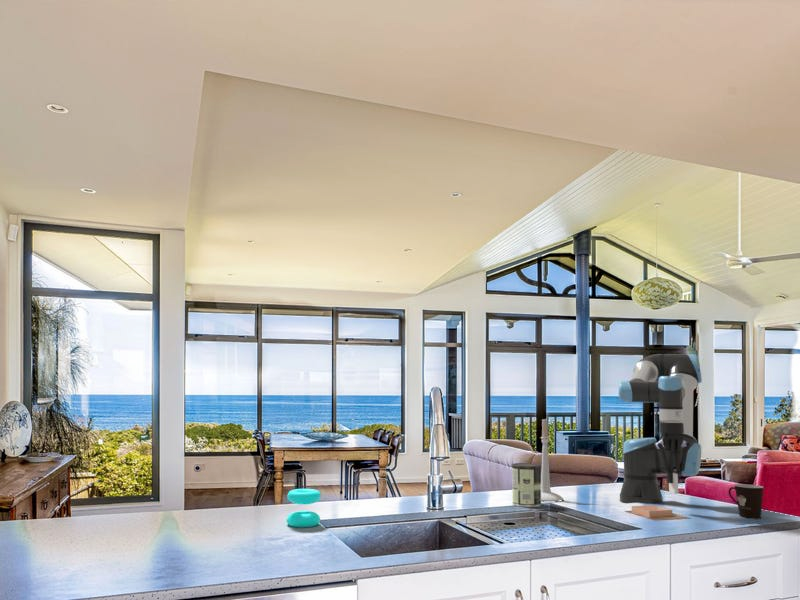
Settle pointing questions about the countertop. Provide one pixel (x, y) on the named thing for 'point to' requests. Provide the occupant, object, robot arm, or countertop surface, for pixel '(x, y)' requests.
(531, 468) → the coffee can
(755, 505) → the coffee mug
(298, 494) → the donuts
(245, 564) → the countertop surface
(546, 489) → the candlestick
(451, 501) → the countertop surface
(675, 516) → the board
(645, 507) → the tile
